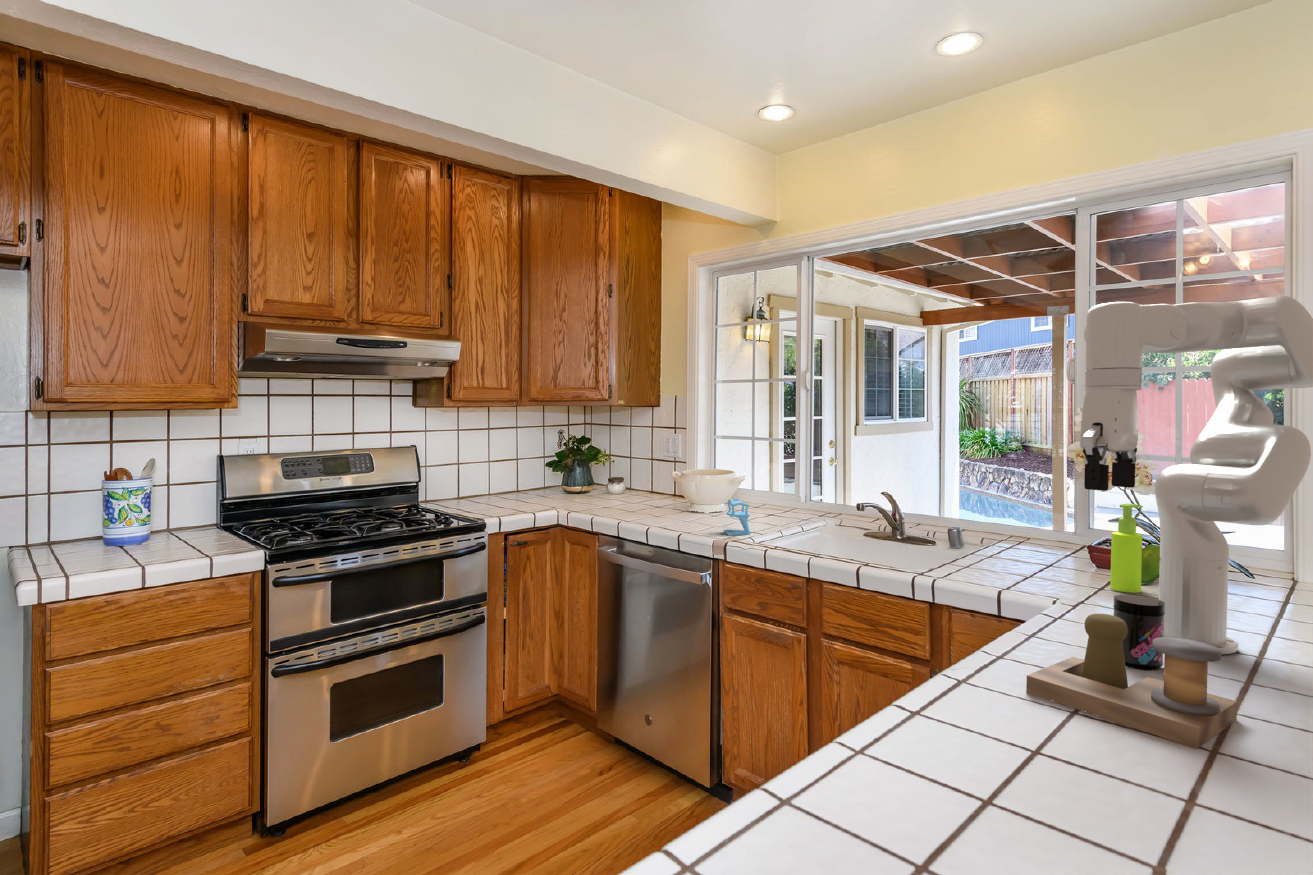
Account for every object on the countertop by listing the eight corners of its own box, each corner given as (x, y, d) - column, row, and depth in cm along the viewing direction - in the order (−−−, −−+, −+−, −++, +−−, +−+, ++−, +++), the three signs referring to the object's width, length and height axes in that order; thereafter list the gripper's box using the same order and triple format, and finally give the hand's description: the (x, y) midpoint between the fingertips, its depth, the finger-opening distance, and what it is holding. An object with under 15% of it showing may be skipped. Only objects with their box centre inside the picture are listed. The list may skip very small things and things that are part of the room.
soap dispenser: (1149, 591, 157) (1152, 505, 157) (1129, 593, 155) (1132, 506, 154) (1124, 585, 163) (1126, 502, 162) (1104, 587, 160) (1106, 503, 160)
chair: (752, 535, 228) (753, 500, 228) (728, 536, 227) (729, 500, 227) (746, 532, 236) (747, 497, 236) (723, 532, 235) (723, 497, 235)
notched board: (1072, 672, 105) (1074, 608, 105) (1236, 720, 89) (1238, 643, 88) (1026, 692, 97) (1027, 622, 97) (1197, 748, 81) (1199, 664, 81)
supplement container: (1120, 669, 107) (1122, 603, 107) (1105, 655, 113) (1107, 593, 113) (1170, 674, 105) (1172, 607, 105) (1152, 659, 112) (1154, 596, 111)
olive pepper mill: (1082, 679, 102) (1084, 607, 102) (1131, 690, 99) (1133, 615, 98) (1076, 691, 98) (1078, 616, 97) (1127, 703, 94) (1129, 624, 94)
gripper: (1110, 384, 116) (1107, 484, 117) (1061, 380, 106) (1059, 489, 107) (1162, 382, 110) (1159, 487, 111) (1115, 378, 100) (1112, 493, 101)
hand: (1109, 488), depth 109 cm, fingers open, 9 cm apart
